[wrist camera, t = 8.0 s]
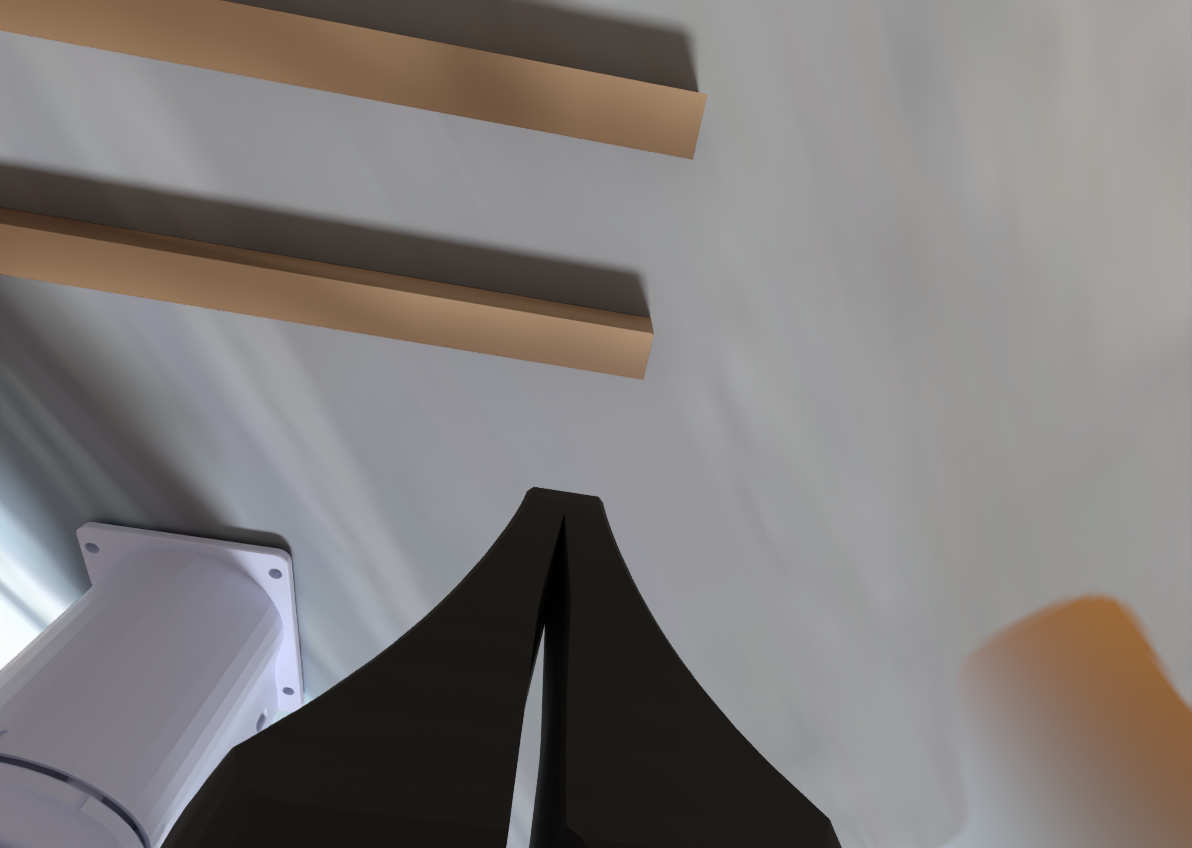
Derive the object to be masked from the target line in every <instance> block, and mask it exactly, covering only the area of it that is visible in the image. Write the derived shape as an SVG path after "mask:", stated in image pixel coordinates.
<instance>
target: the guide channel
mask: <svg viewBox="0 0 1192 848" xmlns="http://www.w3.org/2000/svg"><path fill="white" fill-rule="evenodd" d="M0 30H2V31H7V32H12V33H18V34H23V35H28V36H34V37H39V38H44V39H50V40H55V41H61V42H66V43H71V44H77V45H82V46H87V47H93V48H98V49H103V50H109V51H114V52H119V53H125V54H130V55H136V56H141V57H146V58H152V59H157V60H162V61H168V62H173V63H178V64H184V65H189V66H195V67H200V68H205V69H211V70H216V71H221V72H227V73H232V74H237V75H243V76H248V77H253V78H259V79H264V80H270V81H275V82H280V83H286V84H291V85H296V86H302V87H307V88H312V89H318V90H323V91H329V92H334V93H339V94H345V95H350V96H355V97H361V98H366V99H371V100H377V101H382V102H387V103H393V104H398V105H404V106H409V107H414V108H420V109H425V110H430V111H436V112H441V113H446V114H452V115H457V116H462V117H468V118H473V119H479V120H484V121H489V122H495V123H500V124H505V125H511V126H516V127H521V128H527V129H532V130H538V131H543V132H548V133H554V134H559V135H564V136H570V137H575V138H580V139H586V140H591V141H596V142H602V143H607V144H613V145H618V146H623V147H629V148H634V149H639V150H645V151H650V152H655V153H661V154H666V155H672V156H677V157H682V158H688V159H693V156H694V152H695V147H696V143H697V138H698V134H699V129H700V125H701V120H702V116H703V111H704V107H705V102H706V98H707V94H704V93H699V92H693V91H688V90H683V89H678V88H673V87H668V86H662V85H657V84H652V83H647V82H642V81H637V80H631V79H626V78H621V77H616V76H611V75H606V74H600V73H595V72H590V71H585V70H580V69H575V68H569V67H564V66H559V65H554V64H549V63H543V62H538V61H533V60H528V59H523V58H518V57H512V56H507V55H502V54H497V53H492V52H487V51H481V50H476V49H471V48H466V47H461V46H456V45H450V44H445V43H440V42H435V41H430V40H424V39H419V38H414V37H409V36H404V35H399V34H393V33H388V32H383V31H378V30H373V29H368V28H362V27H357V26H352V25H347V24H342V23H337V22H331V21H326V20H321V19H316V18H311V17H306V16H300V15H295V14H290V13H285V12H280V11H274V10H269V9H264V8H259V7H254V6H249V5H243V4H238V3H233V2H228V1H223V0H0ZM0 274H2V275H8V276H15V277H21V278H27V279H33V280H39V281H45V282H51V283H57V284H63V285H69V286H75V287H82V288H88V289H94V290H100V291H106V292H112V293H118V294H124V295H130V296H136V297H142V298H149V299H155V300H161V301H167V302H173V303H179V304H185V305H191V306H197V307H203V308H210V309H216V310H222V311H228V312H234V313H240V314H246V315H252V316H258V317H264V318H270V319H277V320H283V321H289V322H295V323H301V324H307V325H313V326H319V327H325V328H331V329H338V330H344V331H350V332H356V333H362V334H368V335H374V336H380V337H386V338H392V339H398V340H405V341H411V342H417V343H423V344H429V345H435V346H441V347H447V348H453V349H459V350H466V351H472V352H478V353H484V354H490V355H496V356H502V357H508V358H514V359H520V360H526V361H533V362H539V363H545V364H551V365H557V366H563V367H569V368H575V369H581V370H587V371H593V372H600V373H606V374H612V375H618V376H624V377H630V378H636V379H642V380H644V375H645V371H646V366H647V362H648V357H649V353H650V348H651V344H652V339H653V335H654V333H653V327H652V322H651V318H647V317H641V316H635V315H629V314H623V313H617V312H612V311H606V310H600V309H594V308H588V307H582V306H576V305H570V304H565V303H559V302H553V301H547V300H541V299H535V298H529V297H523V296H518V295H512V294H506V293H500V292H494V291H488V290H482V289H476V288H471V287H465V286H459V285H453V284H447V283H441V282H435V281H429V280H424V279H418V278H412V277H406V276H400V275H394V274H388V273H382V272H377V271H371V270H365V269H359V268H353V267H347V266H341V265H335V264H330V263H324V262H318V261H312V260H306V259H300V258H294V257H288V256H283V255H277V254H271V253H265V252H259V251H253V250H247V249H241V248H236V247H230V246H224V245H218V244H212V243H206V242H200V241H194V240H189V239H183V238H177V237H171V236H165V235H159V234H153V233H147V232H142V231H136V230H130V229H124V228H118V227H112V226H106V225H100V224H95V223H89V222H83V221H77V220H71V219H65V218H59V217H53V216H48V215H42V214H36V213H30V212H24V211H18V210H12V209H6V208H1V207H0Z"/></svg>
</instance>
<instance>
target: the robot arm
mask: <svg viewBox="0 0 1192 848" xmlns="http://www.w3.org/2000/svg"><path fill="white" fill-rule="evenodd" d="M77 538H78V541H79V545H80V548H81V551H82V554H83V558H84V561H85V564H86V568H87V571H88V574H89V578H90V581H91V584H92V587H91V588H90V589H88V590H87V591H86V592H85V593H84V594H83V595H82V596H81V597H80V598H79V599H78V600H76V601H75V602H74V603H73V604H72V605H71V606H70V607H69V608H68V609H67V610H66V611H65V612H63V613H62V614H61V615H60V616H59V617H58V618H57V619H56V620H55V621H54V622H53V623H51V624H50V625H49V626H48V627H47V628H46V629H45V630H44V631H43V632H42V633H41V634H39V635H38V636H37V637H36V638H35V639H34V640H33V641H32V642H31V643H30V644H29V645H28V646H26V647H25V648H24V649H23V650H22V651H21V652H20V653H19V654H18V655H17V656H16V657H14V658H13V659H12V660H11V661H10V662H9V663H8V664H7V665H6V666H5V667H4V668H2V669H1V670H0V848H506V845H507V838H508V831H509V823H510V815H511V808H512V800H513V792H514V785H515V777H516V770H517V762H518V754H519V747H520V739H521V732H522V724H523V717H524V710H525V705H526V701H527V696H528V692H529V688H530V684H531V680H532V675H533V671H534V667H535V663H536V659H537V655H538V650H539V646H540V642H541V638H542V634H543V629H544V625H545V635H544V664H543V695H542V726H541V746H540V760H539V770H538V779H537V787H536V795H535V804H534V812H533V820H532V828H531V837H530V845H529V848H842V847H841V845H840V842H839V840H838V838H837V836H836V833H835V831H834V828H833V826H832V824H831V821H830V819H829V818H828V817H827V816H825V815H824V814H823V813H822V812H821V811H820V810H819V809H818V808H817V807H816V806H815V805H814V804H813V803H812V802H810V801H809V800H808V799H807V798H806V797H805V796H804V795H803V794H802V793H801V792H800V791H799V790H798V789H797V788H795V787H794V786H793V785H792V784H791V783H790V782H789V781H788V780H787V779H786V778H785V777H784V776H783V775H782V774H780V773H779V772H778V771H777V770H776V769H775V768H774V767H773V766H772V765H771V764H770V763H769V762H768V761H767V760H766V759H765V758H764V757H763V756H762V755H761V754H760V753H759V752H758V751H757V750H756V749H755V748H754V747H753V746H752V744H751V743H750V742H749V741H748V740H747V739H746V738H745V737H744V736H743V735H742V734H741V733H740V732H739V731H738V730H737V729H736V728H735V726H734V725H733V724H732V723H731V722H730V720H729V719H728V718H727V717H726V716H725V714H724V713H723V712H722V711H721V710H720V709H719V707H718V706H717V705H716V704H715V703H714V701H713V700H712V699H711V698H710V697H709V695H708V694H707V693H706V692H705V691H704V689H703V688H702V687H701V686H700V685H699V683H698V682H697V681H696V679H695V678H694V677H693V675H692V674H691V672H690V671H689V670H688V668H687V667H686V666H685V664H684V663H683V662H682V660H681V659H680V657H679V656H678V654H677V653H676V651H675V650H674V649H673V647H672V646H671V644H670V643H669V641H668V640H667V638H666V637H665V635H664V633H663V632H662V630H661V629H660V627H659V626H658V624H657V622H656V621H655V619H654V617H653V616H652V614H651V612H650V610H649V608H648V607H647V605H646V603H645V601H644V600H643V598H642V596H641V594H640V592H639V590H638V588H637V586H636V585H635V583H634V581H633V579H632V576H631V574H630V572H629V570H628V568H627V566H626V564H625V562H624V559H623V557H622V555H621V553H620V551H619V548H618V546H617V543H616V541H615V538H614V536H613V533H612V531H611V528H610V525H609V522H608V519H607V516H606V513H605V509H604V505H603V502H602V501H601V500H600V498H599V497H597V496H590V495H584V494H577V493H571V492H564V491H557V490H551V489H544V488H538V487H533V488H531V489H530V490H528V491H527V493H526V495H525V497H524V499H523V501H522V503H521V505H520V507H519V508H518V510H517V512H516V513H515V515H514V516H513V518H512V519H511V521H510V522H509V524H508V525H507V527H506V528H505V529H504V531H503V532H502V533H501V535H500V536H499V537H498V539H497V540H496V541H495V543H494V544H493V545H492V546H491V548H490V549H489V550H488V552H487V553H486V554H485V555H484V556H483V558H482V559H481V560H480V561H479V562H478V563H477V564H476V565H475V566H474V568H473V569H472V570H471V571H470V572H469V573H468V574H467V575H466V577H465V578H464V579H463V580H462V581H461V582H460V583H459V584H458V585H457V586H456V587H455V588H454V589H453V590H452V591H451V592H450V593H449V594H448V595H447V596H446V597H445V598H444V599H443V600H442V601H441V602H440V603H439V604H438V605H437V606H436V607H435V608H434V609H433V610H432V611H430V612H429V613H428V614H427V615H426V616H425V617H424V618H423V619H422V620H421V621H419V622H418V623H417V624H416V625H415V626H413V627H412V628H411V629H410V630H409V631H407V632H406V633H405V634H404V635H403V636H401V637H400V638H399V639H398V640H397V641H395V642H394V643H393V644H392V645H390V646H389V647H388V648H387V649H385V650H384V651H383V652H381V653H380V654H379V655H377V656H376V657H375V658H373V659H372V660H371V661H369V662H368V663H367V664H365V665H364V666H362V667H361V668H359V669H358V670H356V671H355V672H354V673H352V674H351V675H349V676H348V677H346V678H345V679H343V680H342V681H341V682H339V683H338V684H336V685H335V686H333V687H332V688H330V689H329V690H328V691H326V692H325V693H323V694H322V695H320V696H319V697H317V698H316V699H314V700H312V701H311V702H309V703H308V704H306V705H304V706H303V704H304V690H303V679H302V669H301V658H300V647H299V636H298V626H297V615H296V604H295V593H294V583H293V572H292V561H291V557H290V555H289V554H288V553H287V552H285V551H284V550H281V549H278V548H271V547H264V546H257V545H250V544H243V543H236V542H229V541H222V540H215V539H208V538H201V537H194V536H187V535H180V534H173V533H166V532H159V531H152V530H145V529H138V528H131V527H124V526H117V525H110V524H103V523H95V522H88V523H85V524H84V525H82V526H81V527H80V528H79V529H78V530H77ZM276 569H277V570H279V571H280V572H279V571H277V570H276ZM302 706H303V707H302ZM277 711H286V712H293V713H291V714H289V715H287V716H286V717H284V718H282V719H281V720H279V721H277V722H276V723H274V724H272V725H270V723H271V722H272V720H273V718H274V716H275V714H276V713H277ZM269 725H270V726H269Z"/></svg>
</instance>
